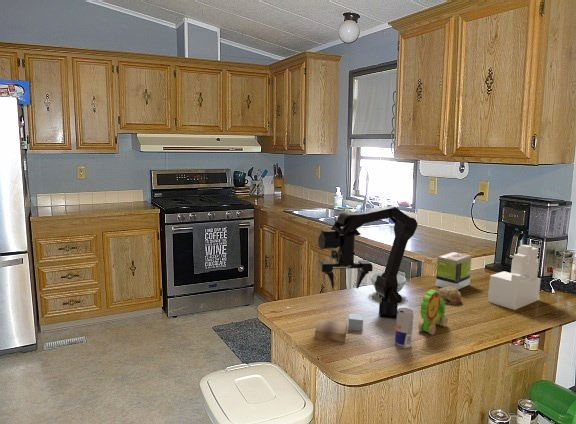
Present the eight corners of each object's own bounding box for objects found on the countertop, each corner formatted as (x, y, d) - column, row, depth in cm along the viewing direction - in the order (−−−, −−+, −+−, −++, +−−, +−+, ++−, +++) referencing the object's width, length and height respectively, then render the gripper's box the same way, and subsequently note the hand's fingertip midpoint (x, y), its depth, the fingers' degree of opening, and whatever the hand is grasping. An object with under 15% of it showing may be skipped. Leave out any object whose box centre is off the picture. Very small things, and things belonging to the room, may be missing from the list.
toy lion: (434, 321, 172) (437, 282, 170) (448, 325, 168) (451, 286, 166) (414, 333, 161) (417, 292, 158) (428, 338, 157) (432, 296, 154)
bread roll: (435, 308, 196) (436, 295, 192) (437, 292, 204) (438, 279, 199) (459, 312, 192) (461, 298, 188) (461, 296, 200) (462, 282, 196)
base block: (346, 330, 161) (347, 322, 161) (344, 342, 151) (345, 333, 151) (318, 327, 163) (318, 319, 163) (314, 339, 153) (315, 330, 153)
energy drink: (392, 341, 153) (394, 307, 151) (407, 341, 154) (410, 307, 152) (397, 348, 148) (400, 313, 146) (413, 348, 149) (416, 313, 147)
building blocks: (514, 310, 187) (521, 250, 183) (487, 301, 196) (493, 245, 192) (538, 300, 200) (545, 244, 196) (511, 292, 209) (517, 239, 205)
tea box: (450, 280, 226) (453, 251, 223) (470, 285, 218) (472, 255, 216) (434, 286, 215) (437, 255, 213) (454, 291, 208) (457, 260, 206)
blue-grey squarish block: (362, 325, 167) (363, 315, 166) (362, 330, 162) (363, 320, 161) (349, 324, 167) (349, 313, 167) (348, 329, 163) (348, 318, 162)
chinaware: (392, 287, 211) (393, 271, 210) (411, 298, 197) (412, 281, 196) (363, 290, 205) (364, 274, 204) (381, 301, 192) (382, 284, 190)
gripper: (365, 242, 174) (363, 281, 177) (317, 242, 172) (316, 282, 175) (373, 249, 163) (371, 290, 166) (322, 249, 161) (321, 291, 164)
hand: (344, 288), depth 168 cm, fingers open, 9 cm apart
